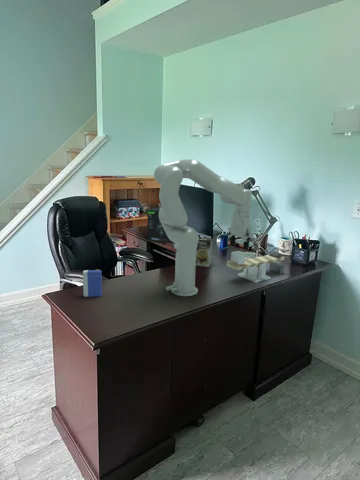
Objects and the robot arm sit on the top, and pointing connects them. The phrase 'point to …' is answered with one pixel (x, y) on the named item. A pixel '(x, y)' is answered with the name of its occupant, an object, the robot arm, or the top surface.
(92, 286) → the walkman
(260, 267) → the beam stand
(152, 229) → the headset box
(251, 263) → the beam
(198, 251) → the coffee box
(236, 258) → the block
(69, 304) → the top surface
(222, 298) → the top surface
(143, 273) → the top surface
